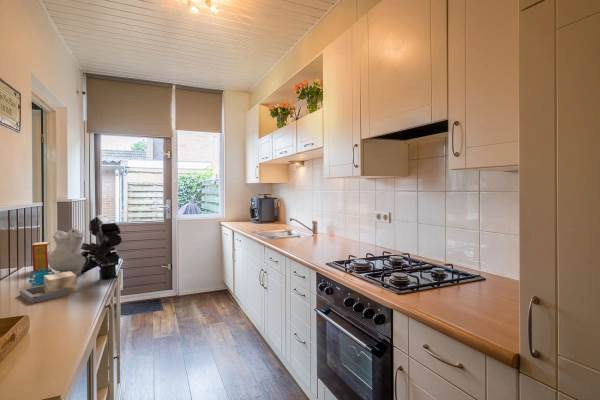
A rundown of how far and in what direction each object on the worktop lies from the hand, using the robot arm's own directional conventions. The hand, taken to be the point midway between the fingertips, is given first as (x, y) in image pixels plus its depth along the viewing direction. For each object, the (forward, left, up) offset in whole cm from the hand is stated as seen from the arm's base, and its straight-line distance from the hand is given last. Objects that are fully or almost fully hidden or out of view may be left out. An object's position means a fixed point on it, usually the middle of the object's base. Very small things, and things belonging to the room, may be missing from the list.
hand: (81, 273), depth 152 cm
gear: (+10, -19, -7) cm, 23 cm away
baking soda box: (+1, -55, -7) cm, 56 cm away
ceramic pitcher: (-6, -32, -7) cm, 33 cm away
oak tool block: (+8, 0, -7) cm, 11 cm away
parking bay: (+14, 0, -7) cm, 16 cm away
